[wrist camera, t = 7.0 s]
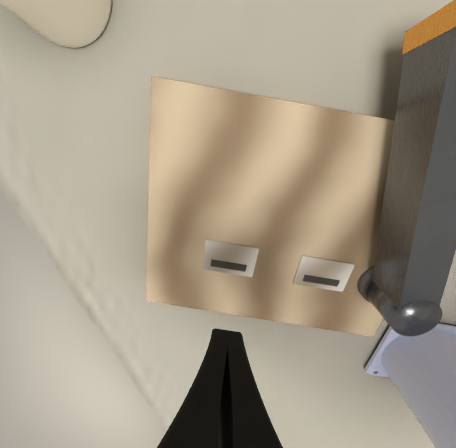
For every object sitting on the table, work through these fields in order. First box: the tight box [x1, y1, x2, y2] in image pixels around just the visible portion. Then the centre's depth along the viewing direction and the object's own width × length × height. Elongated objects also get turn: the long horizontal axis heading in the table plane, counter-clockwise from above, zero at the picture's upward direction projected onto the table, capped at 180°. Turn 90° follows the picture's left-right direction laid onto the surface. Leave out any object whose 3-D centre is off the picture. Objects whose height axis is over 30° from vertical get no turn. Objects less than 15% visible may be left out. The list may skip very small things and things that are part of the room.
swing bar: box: [366, 0, 456, 336], centre depth 13 cm, size 19×3×3 cm, turn 7°
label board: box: [146, 76, 395, 337], centre depth 17 cm, size 22×18×2 cm
